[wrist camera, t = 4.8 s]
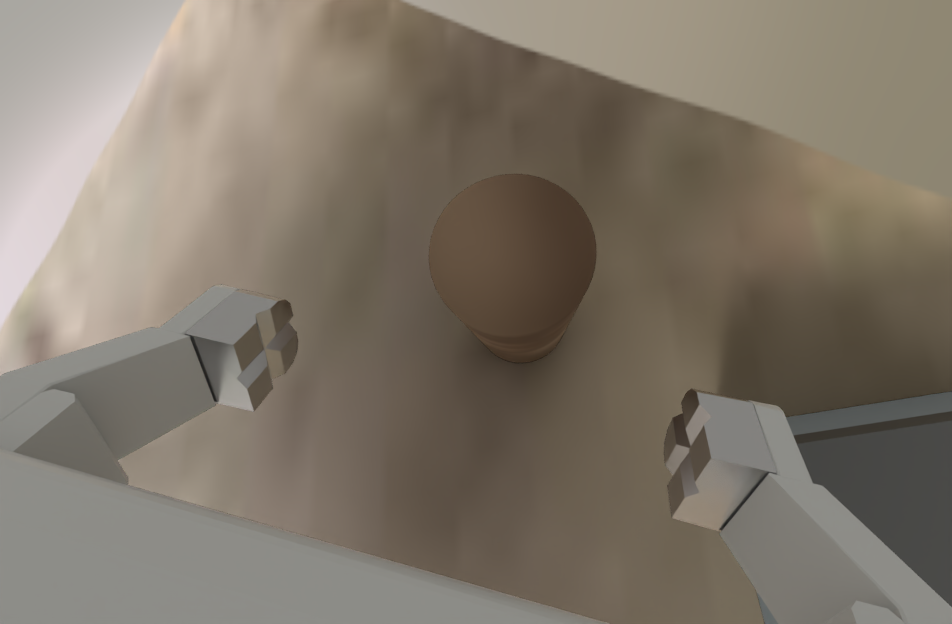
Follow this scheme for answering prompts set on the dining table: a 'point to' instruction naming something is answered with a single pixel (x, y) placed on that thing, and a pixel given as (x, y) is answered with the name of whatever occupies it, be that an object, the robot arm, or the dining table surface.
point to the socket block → (889, 476)
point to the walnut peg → (513, 262)
